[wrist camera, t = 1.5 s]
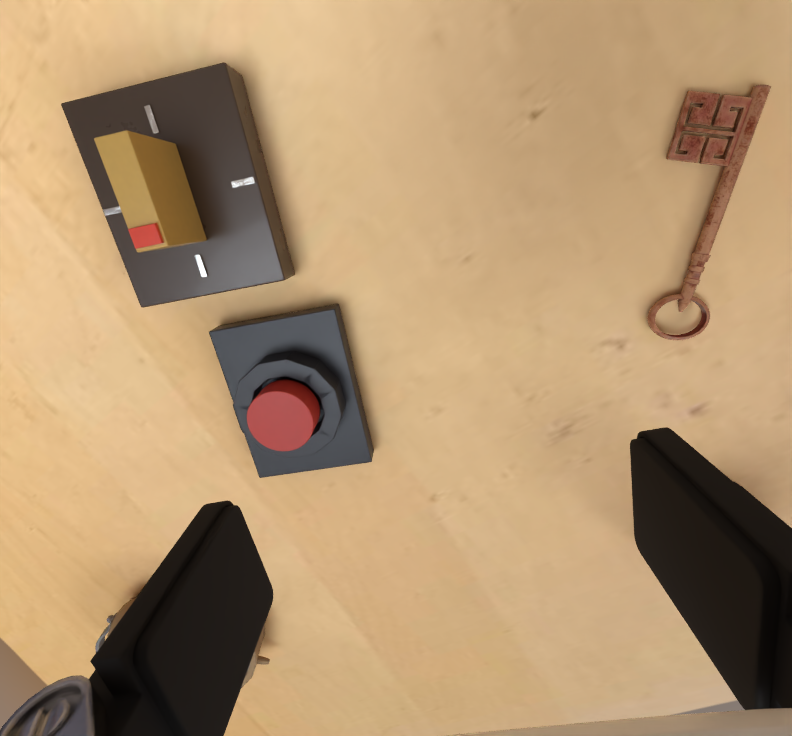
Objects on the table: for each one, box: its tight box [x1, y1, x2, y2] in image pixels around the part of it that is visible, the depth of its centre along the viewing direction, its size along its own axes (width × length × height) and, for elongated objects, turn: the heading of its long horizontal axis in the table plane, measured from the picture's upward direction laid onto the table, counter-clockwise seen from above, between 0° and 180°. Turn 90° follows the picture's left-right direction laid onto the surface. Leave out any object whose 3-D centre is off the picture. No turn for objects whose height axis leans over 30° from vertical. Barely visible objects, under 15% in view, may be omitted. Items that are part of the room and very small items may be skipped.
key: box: [648, 85, 771, 340], centre depth 27 cm, size 6×1×15 cm
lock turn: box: [94, 130, 207, 253], centre depth 24 cm, size 6×2×5 cm, turn 11°
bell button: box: [247, 379, 320, 451], centre depth 29 cm, size 4×4×2 cm
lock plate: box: [61, 63, 295, 307], centre depth 27 cm, size 12×10×3 cm
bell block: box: [209, 304, 374, 478], centre depth 31 cm, size 12×9×4 cm
